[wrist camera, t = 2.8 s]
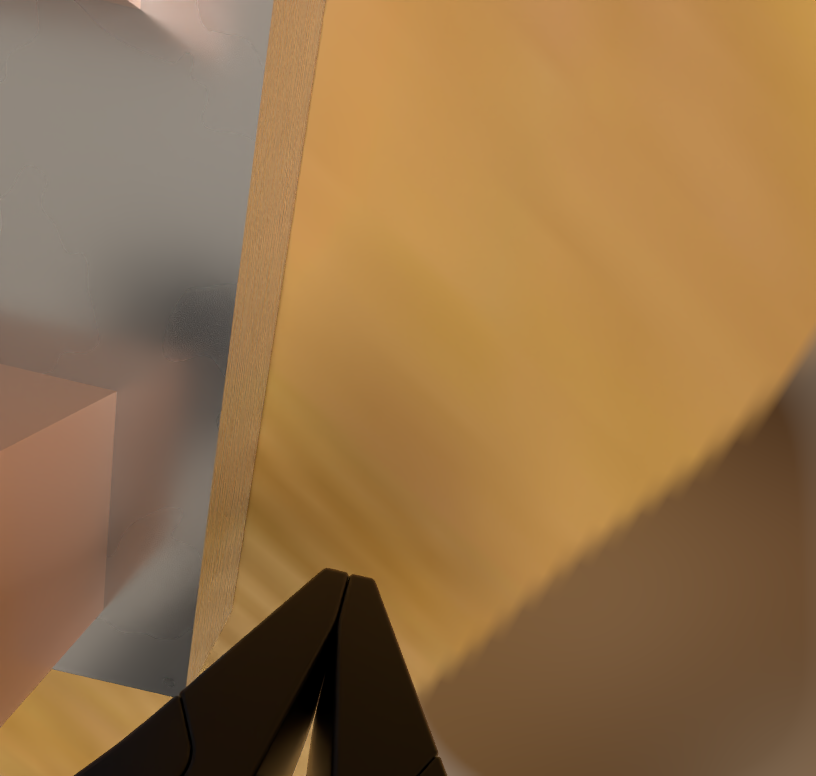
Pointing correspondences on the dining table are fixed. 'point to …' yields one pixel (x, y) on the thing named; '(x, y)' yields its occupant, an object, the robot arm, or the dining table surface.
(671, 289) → the dining table surface
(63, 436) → the tile
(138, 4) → the tile
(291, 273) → the dining table surface
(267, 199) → the plate
